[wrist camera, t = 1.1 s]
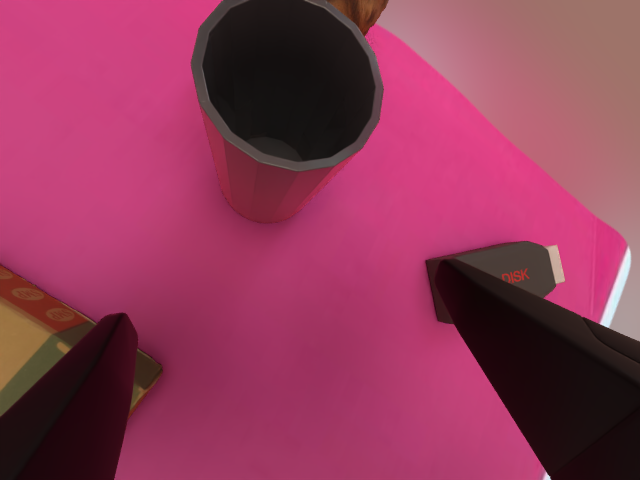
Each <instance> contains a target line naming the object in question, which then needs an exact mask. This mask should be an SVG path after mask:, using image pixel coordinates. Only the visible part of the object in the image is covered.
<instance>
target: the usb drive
mask: <svg viewBox="0 0 640 480" xmlns="http://www.w3.org/2000/svg"><path fill="white" fill-rule="evenodd" d="M446 258H456V259H458V260H460V261H463V262H465V263H467V264H469V265H471V266H473V267H476V268H478V269H480V270H482V271H484V272H487V273H489V274H491V275H493V276H495V277H498V278H500V279H502V280H504V281H506V282H508V283H511V284H513V285H515V286H517V287H519V288H522V289H524V290H526V291H528V292H530V293H532V294H535V295H537V296H539V297H541V298H544V297H545V296H546V295H548V294H549V293H550V292H551V291H552V290H553V289H554V288H555V287H556V284H558V283H562V282H565V278H564V274H563V269H562V265H561V260H560V256H559V252H558V247H557V245H551V246H542V245H539V244H536V243H533V242H529V241H520V242H510V243H503V244H498V245H493V246H489V247H484V248H479V249H475V250H470V251H466V252H461V253H456V254H452V255H447V256H442V257H438V258H433V259H429V260H426V264H427V268H428V273H429V278H430V283H431V288H432V293H433V298H434V303H435V307H436V312H437V317H438V321H440V322H444V323H449V324H454V323H453V321H452V319H451V317H450V315H449V313H448V311H447V309H446V307H445V305H444V303H443V301H442V299H441V297H440V295H439V293H438V291H437V289H436V287H435V284H434V276H435V273H436V270H437V267H438V264H439V262H440V260H442V259H446Z"/></svg>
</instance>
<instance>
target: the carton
mask: <svg viewBox="0 0 640 480" xmlns="http://www.w3.org/2000/svg"><path fill="white" fill-rule="evenodd" d="M95 325H96V323H95V322H93V321H92V320H91V319H89V318H88V317H86V316H84V315H83V314H81V313H80V312H78V311H76V310H74V309H71V308H70V307H69V306H67V305H66V304H64V303H62V302H60V301H57V300H56V299H55V298H53V297H51V296H49V295H48V294H46V293H44V292H43V291H41V290H39V289H38V288H36V285H34V284H31V283H28V282H27V281H26V280H25V279H24V278H21V277H20V276H17V275H15V274H14V273H13V272H11V271H9V270H7V269H6V268H4V267H3V266H1V265H0V417H1V416H2V415H3V414H4V413H5V412H6V411H7V410H8V409H9V408H10V407H11V406H12V405H13V404H14V403H15V402H16V401H17V400H18V399H19V398H20V397H21V396H22V395H23V394H24V393H26V392H27V391H28V390H29V389H30V388H31V387H32V386H33V385H34V384H35V383H36V382H37V381H38V380H39V379H40V378H41V377H42V376H43V375H44V374H45V373H46V372H47V371H48V370H49V369H50V368H52V367H53V366H54V365H55V364H56V363H57V362H58V361H59V360H60V359H61V358H62V357H63V356H64V355H65V354H66V353H67V352H68V351H69V350H70V349H71V348H72V347H73V346H74V345H75V344H77V343H78V342H79V341H80V340H81V339H82V338H83V337H84V336H85V335H86V334H87V333H88V332H89V331H90V330H91V329H92V328H93V327H94V326H95ZM162 372H163V370H162V365H161V364H157V363H156V362H155V360H153V359H152V357H150V356H149V355H147V354H146V353H144V352H142V351H140V350H139V349H138V348H137V356H136V366H135V376H134V386H133V394H132V401H131V406H130V411H129V416H128V419H129V417H130V416H131V415H132V413H133V412H134V411H135V409H136V408H137V407H138V405H139V404H140V403H141V401H142V400H143V399H144V397H145V396H146V395H147V394H148V392H149V391H150V390H151V388H152V387H153V386H154V385H155V384H156V382H157V381H158V379H159V378H160V376H161V374H162Z"/></svg>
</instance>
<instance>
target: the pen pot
mask: <svg viewBox="0 0 640 480" xmlns="http://www.w3.org/2000/svg"><path fill="white" fill-rule="evenodd" d="M191 69H192V74H193V78H194V83H195V87H196V92H197V96H198V101H199V105H200V109H201V113H202V117H203V121H204V124H205V128H206V132H207V136H208V140H209V144H210V148H211V152H212V155H213V159H214V163H215V167H216V171H217V175H218V179H219V183H220V186H221V190H222V193H223V195H224V197H225V199H226V200H227V202H228V203H229V205H230V206H231V207H232V208H233V209H234V210H235V211H236V212H237V213H239V214H240V215H241V216H243V217H245V218H247V219H249V220H251V221H254V222H258V223H277V222H281V221H284V220H286V219H288V218H290V217H292V216H293V215H294V214H296V213H297V212H298V211H300V210H301V209H302V208H303V207H304V206H305V205H306V204H307V203H308V202H309V201H310V200H311V199H312V198H313V197H314V196H315V195H316V194H317V193H318V192H319V191H320V190H321V189H322V188H323V187H324V186H325V185H326V184H327V183H328V182H329V181H330V180H331V179H332V178H333V177H334V176H335V175H336V174H337V173H338V172H339V171H340V170H341V169H342V168H343V167H344V166H345V165H346V164H347V163H348V162H349V161H350V160H351V159H352V158H353V157H354V156H355V155H356V154H357V153H358V152H359V151H360V150H361V149H362V148H363V147H364V145H365V143H366V142H367V140H368V139H369V137H370V135H371V134H372V132H373V130H374V129H375V127H376V126H377V124H378V122H379V120H380V112H381V105H382V98H383V90H384V89H383V83H382V79H381V75H380V71H379V66H378V62H377V58H376V55H375V53H374V51H373V50H372V48H371V47H370V45H369V44H368V42H367V41H366V39H365V37H364V36H363V34H362V33H361V31H360V30H359V28H358V27H357V25H356V24H355V23H354V22H352V21H351V20H350V19H349V18H348V17H346V16H345V15H344V14H343V13H342V12H340V11H339V10H338V9H337V8H335V7H334V6H333V5H332V4H331V3H329V2H327V1H326V0H223V1H222V2H221V3H220V4H219V5H218V6H217V7H216V8H215V10H214V11H213V12H212V13H211V14H210V15H209V17H208V18H207V19H206V20H205V21H204V22H203V23H202V25H201V26H200V28H199V30H198V34H197V38H196V43H195V47H194V51H193V55H192V60H191Z"/></svg>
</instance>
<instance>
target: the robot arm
mask: <svg viewBox="0 0 640 480" xmlns="http://www.w3.org/2000/svg"><path fill="white" fill-rule="evenodd" d="M434 284H435V287H436V289H437V291H438V293H439V295H440V297H441V299H442V301H443V303H444V305H445V307H446V309H447V311H448V313H449V315H450V317H451V319H452V321H453V323H454V325H455V327H456V328H457V330H458V332H459V333H460V335H461V337H462V338H463V340H464V341H465V343H466V345H467V346H468V348H469V349H470V351H471V353H472V354H473V356H474V357H475V359H476V360H477V362H478V364H479V365H480V367H481V368H482V370H483V372H484V373H485V375H486V376H487V378H488V380H489V381H490V383H491V384H492V386H493V388H494V389H495V391H496V392H497V394H498V396H499V397H500V399H501V400H502V402H503V403H504V405H505V407H506V408H507V410H508V411H509V413H510V415H511V416H512V418H513V419H514V421H515V423H516V424H517V426H518V427H519V429H520V431H521V432H522V434H523V435H524V437H525V438H526V440H527V442H528V443H529V445H530V446H531V448H532V450H533V451H534V453H535V454H536V456H537V458H538V459H539V461H540V462H541V464H542V466H543V467H544V469H545V470H546V472H547V474H548V475H549V476H550V479H551V480H640V342H639V341H637V340H635V339H632V338H630V337H627V336H625V335H623V334H620V333H618V332H616V331H613V330H611V329H609V328H607V327H605V326H602V325H600V324H598V323H596V322H594V321H591V320H589V319H587V318H585V317H581V316H580V315H578V314H576V313H574V312H572V311H570V310H567V309H565V308H563V307H561V306H559V305H556V304H554V303H552V302H550V301H548V300H546V299H543V298H541V297H539V296H537V295H535V294H532V293H530V292H528V291H526V290H524V289H522V288H519V287H517V286H515V285H513V284H511V283H508V282H506V281H504V280H502V279H500V278H498V277H495V276H493V275H491V274H489V273H487V272H484V271H482V270H480V269H478V268H476V267H473V266H471V265H469V264H467V263H465V262H463V261H460V260H458V259H456V258H446V259H442V260H440V262H439V264H438V267H437V270H436V273H435V276H434ZM137 346H138V335H137V332H136V330H135V328H134V326H133V324H132V322H131V321H130V319H129V317H128V315H127V314H126V313H116V314H110V315H107V316H105V317H104V318H103V319H101V320H100V321H99V322H98V323H97V324H96V325H95V326H94V327H93V328H92V329H91V330H90V331H89V332H88V333H87V334H86V335H85V336H84V337H83V338H82V339H81V340H80V341H79V342H78V343H77V344H75V345H74V346H73V347H72V348H71V349H70V350H69V351H68V352H67V353H66V354H65V355H64V356H63V357H62V358H61V359H60V360H59V361H58V362H57V363H56V364H55V365H54V366H53V367H52V368H50V369H49V370H48V371H47V372H46V373H45V374H44V375H43V376H42V377H41V378H40V379H39V380H38V381H37V382H36V383H35V384H34V385H33V386H32V387H31V388H30V389H29V390H28V391H27V392H26V393H24V394H23V395H22V396H21V397H20V398H19V399H18V400H17V401H16V402H15V403H14V404H13V405H12V406H11V407H10V408H9V409H8V410H7V411H6V412H5V413H4V414H3V415H2V416H1V417H0V480H114V478H115V474H116V469H117V465H118V460H119V456H120V451H121V447H122V442H123V438H124V434H125V429H126V425H127V420H128V416H129V411H130V406H131V401H132V394H133V386H134V376H135V366H136V356H137Z"/></svg>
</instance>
